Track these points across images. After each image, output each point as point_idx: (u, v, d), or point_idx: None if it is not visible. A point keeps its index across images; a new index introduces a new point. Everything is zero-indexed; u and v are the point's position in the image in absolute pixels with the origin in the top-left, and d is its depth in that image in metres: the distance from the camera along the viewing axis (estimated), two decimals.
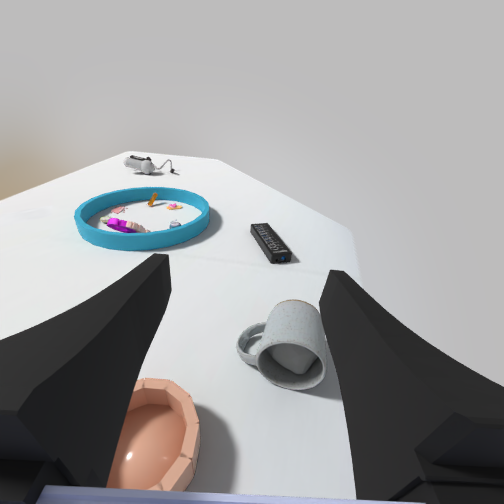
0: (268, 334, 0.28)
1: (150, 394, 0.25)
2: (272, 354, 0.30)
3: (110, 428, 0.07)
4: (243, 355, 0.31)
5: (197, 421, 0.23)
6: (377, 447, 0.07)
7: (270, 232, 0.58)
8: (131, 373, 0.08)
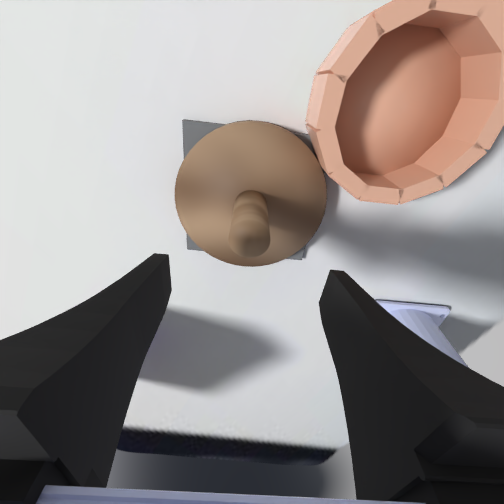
0: None
1: (429, 16, 0.12)
2: None
3: (110, 428, 0.07)
4: None
5: None
6: (377, 447, 0.07)
7: None
8: (131, 373, 0.08)
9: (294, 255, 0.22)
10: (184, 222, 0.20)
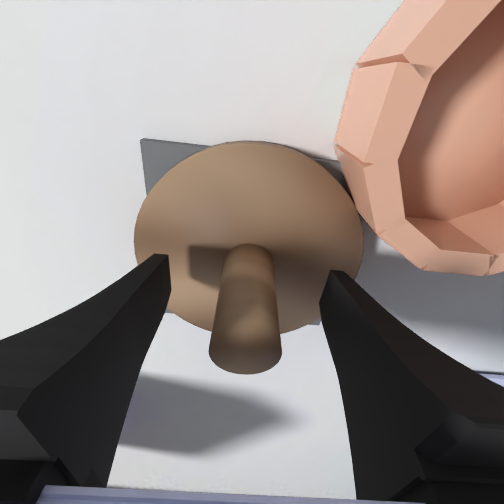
0: None
1: None
2: None
3: (110, 428, 0.07)
4: None
5: None
6: (377, 447, 0.07)
7: None
8: (131, 373, 0.08)
9: None
10: None
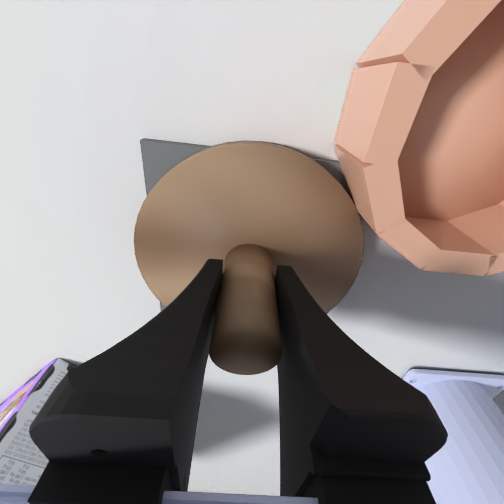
0: None
1: None
2: None
3: (192, 433, 0.07)
4: None
5: None
6: (292, 442, 0.07)
7: None
8: (201, 378, 0.09)
9: None
10: (152, 285, 0.13)
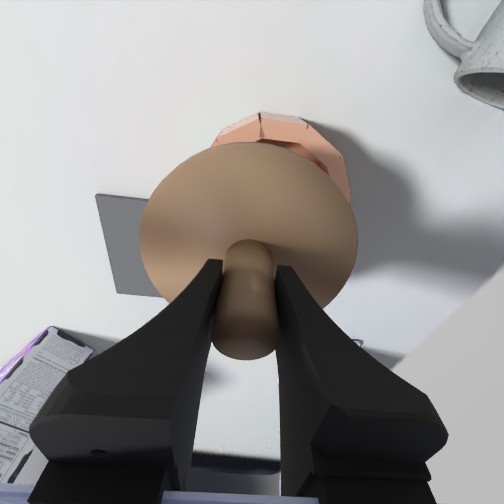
0: None
1: None
2: None
3: (192, 433, 0.07)
4: (439, 29, 0.13)
5: (349, 194, 0.16)
6: (292, 442, 0.07)
7: None
8: (201, 378, 0.09)
9: None
10: (152, 274, 0.14)
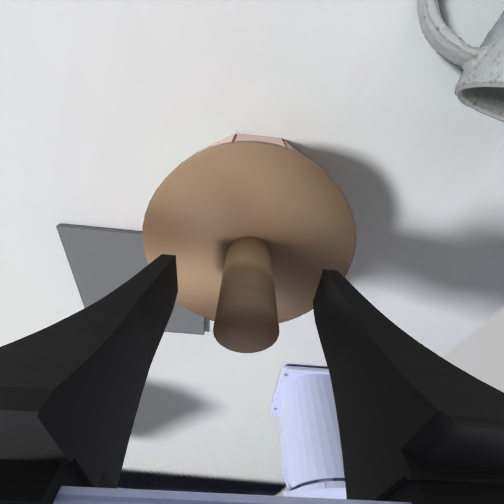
0: None
1: None
2: None
3: (121, 428, 0.07)
4: (436, 32, 0.11)
5: None
6: (366, 446, 0.07)
7: None
8: (140, 373, 0.08)
9: (195, 331, 0.23)
10: None
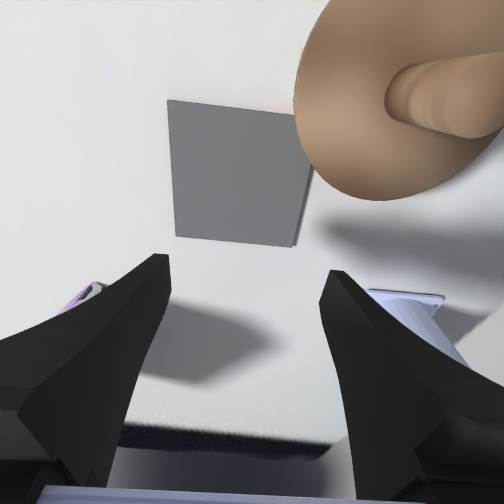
0: None
1: None
2: None
3: (110, 428, 0.07)
4: None
5: None
6: (377, 447, 0.07)
7: None
8: (131, 373, 0.08)
9: (284, 242, 0.22)
10: (301, 115, 0.13)
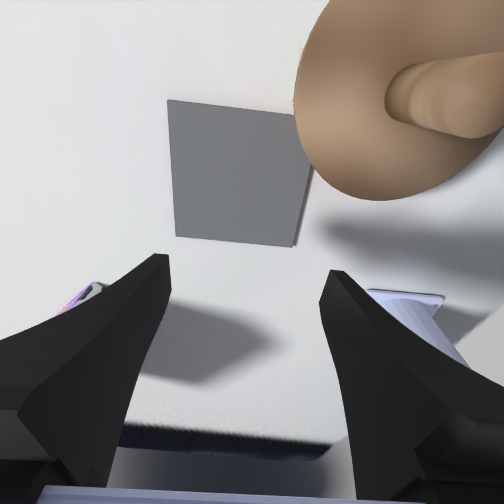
0: None
1: None
2: None
3: (110, 428, 0.07)
4: None
5: None
6: (377, 447, 0.07)
7: None
8: (131, 373, 0.08)
9: (284, 242, 0.22)
10: (302, 115, 0.13)
